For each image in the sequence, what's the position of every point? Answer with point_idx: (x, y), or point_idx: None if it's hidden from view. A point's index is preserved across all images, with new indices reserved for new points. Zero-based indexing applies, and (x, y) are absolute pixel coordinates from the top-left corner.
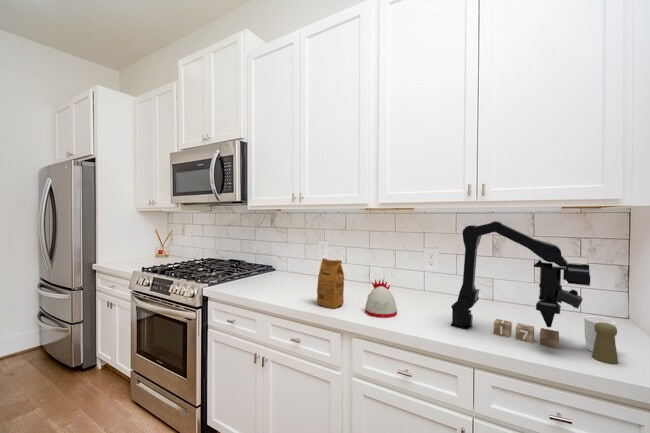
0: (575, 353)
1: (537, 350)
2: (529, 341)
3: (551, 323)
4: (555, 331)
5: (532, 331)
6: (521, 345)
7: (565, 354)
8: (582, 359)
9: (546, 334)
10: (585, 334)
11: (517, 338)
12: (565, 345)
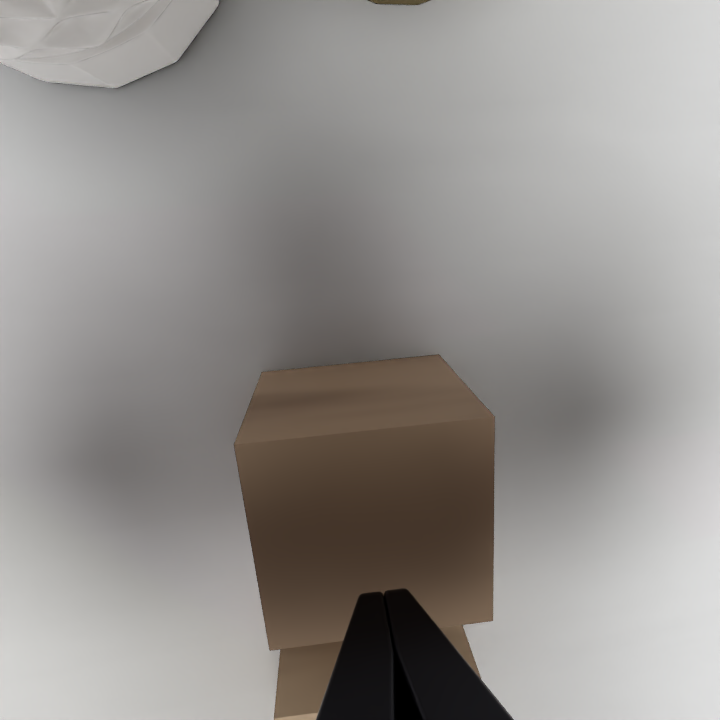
0: (440, 187)
1: (611, 490)
2: None
3: (455, 655)
4: (277, 483)
5: (479, 676)
6: (572, 606)
7: (550, 274)
8: (590, 105)
9: (487, 543)
10: (31, 6)
11: None
12: (239, 308)
